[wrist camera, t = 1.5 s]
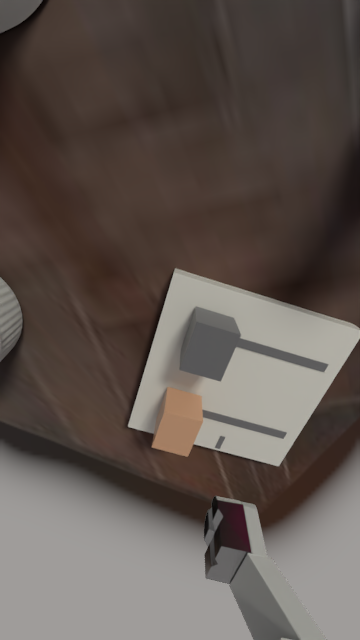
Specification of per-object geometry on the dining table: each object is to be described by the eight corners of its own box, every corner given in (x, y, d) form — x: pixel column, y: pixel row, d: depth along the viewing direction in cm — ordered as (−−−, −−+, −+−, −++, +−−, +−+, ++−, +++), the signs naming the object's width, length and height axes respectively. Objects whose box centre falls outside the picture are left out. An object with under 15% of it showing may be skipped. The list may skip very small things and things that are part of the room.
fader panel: (130, 415, 34) (127, 427, 32) (174, 268, 27) (173, 272, 25) (274, 453, 36) (278, 466, 34) (352, 323, 28) (364, 331, 27)
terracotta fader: (156, 419, 31) (151, 447, 28) (167, 386, 30) (164, 411, 26) (188, 428, 32) (187, 456, 28) (201, 395, 30) (203, 421, 26)
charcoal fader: (180, 349, 28) (179, 370, 24) (195, 306, 26) (196, 321, 22) (216, 359, 28) (220, 381, 24) (234, 317, 26) (241, 335, 23)
